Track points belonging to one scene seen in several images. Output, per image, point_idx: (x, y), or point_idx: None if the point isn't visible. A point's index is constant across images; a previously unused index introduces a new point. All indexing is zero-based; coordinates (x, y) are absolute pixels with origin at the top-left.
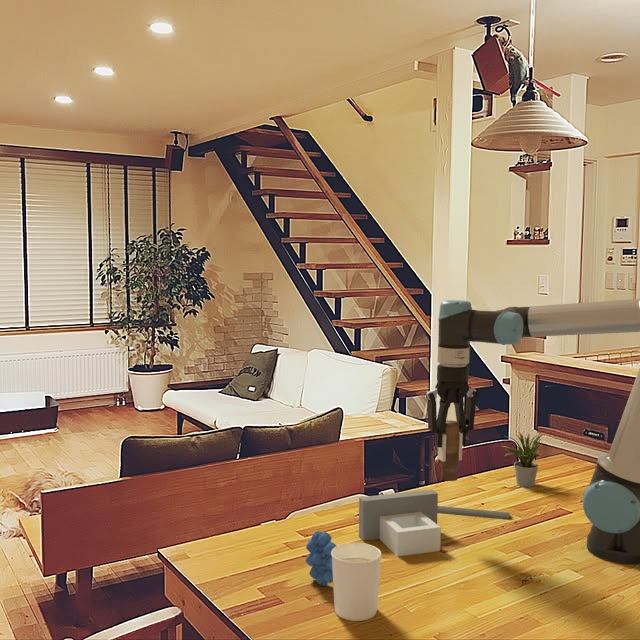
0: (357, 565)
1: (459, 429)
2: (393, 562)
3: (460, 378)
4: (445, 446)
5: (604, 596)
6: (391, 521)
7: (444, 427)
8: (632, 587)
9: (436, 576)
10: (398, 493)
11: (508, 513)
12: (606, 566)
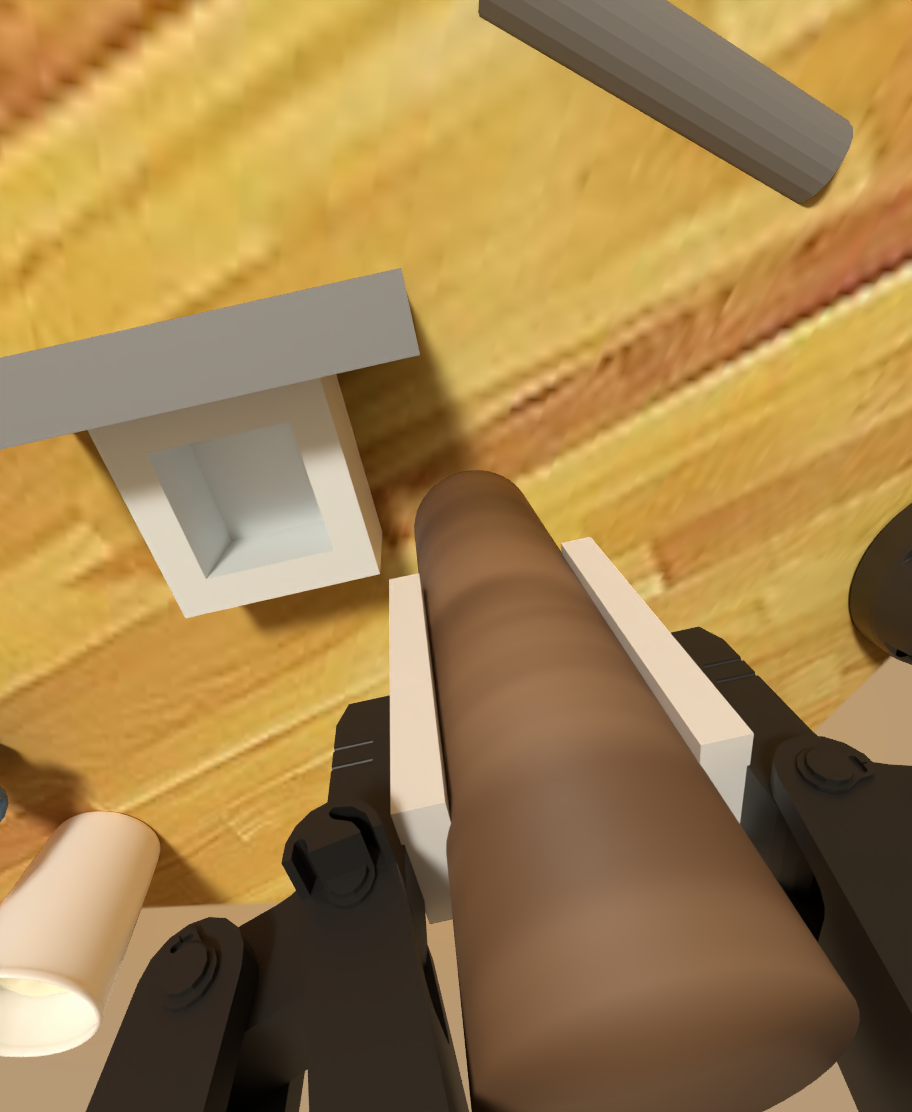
0: (39, 1045)
1: (777, 832)
2: None
3: None
4: None
5: None
6: (152, 498)
7: (456, 1073)
8: None
9: (333, 699)
10: (145, 332)
11: (834, 166)
12: (824, 653)
